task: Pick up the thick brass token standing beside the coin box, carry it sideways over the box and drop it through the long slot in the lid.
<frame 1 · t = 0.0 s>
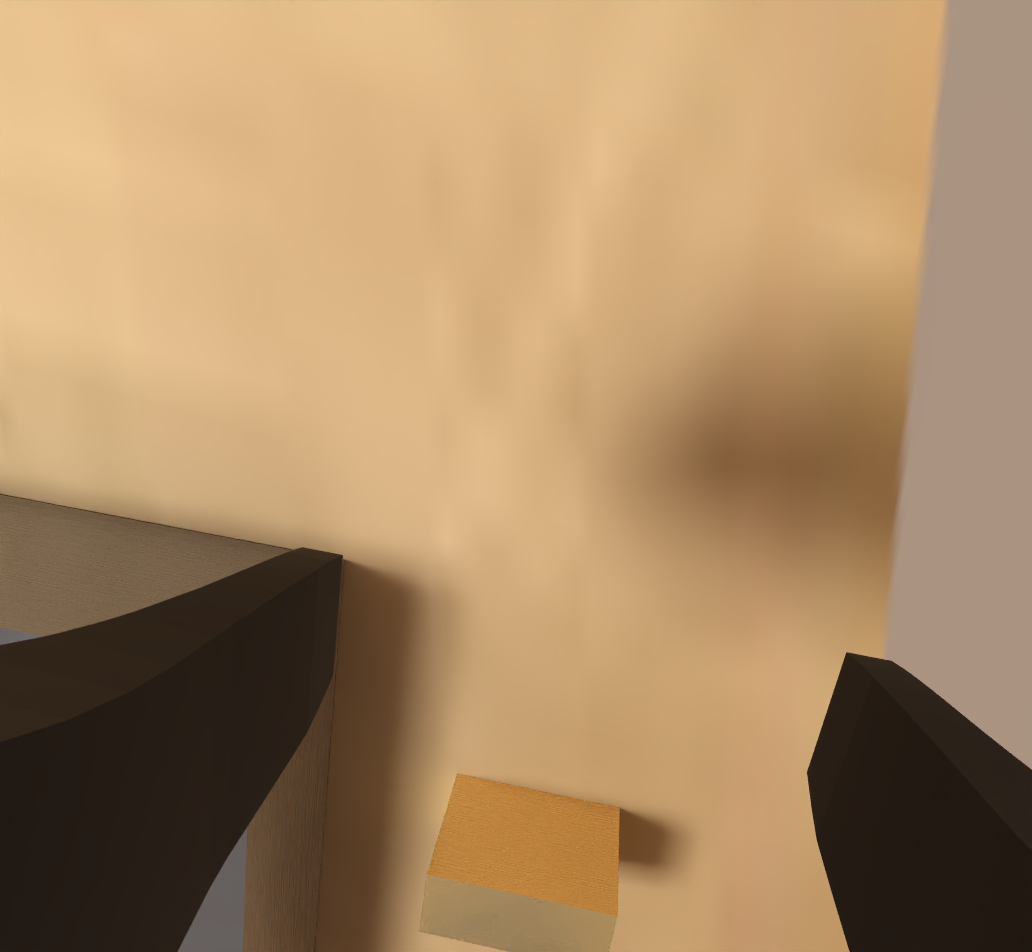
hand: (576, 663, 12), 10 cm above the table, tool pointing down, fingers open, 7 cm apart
token: (533, 815, 25), on the table
coin box: (102, 752, 27), on the table
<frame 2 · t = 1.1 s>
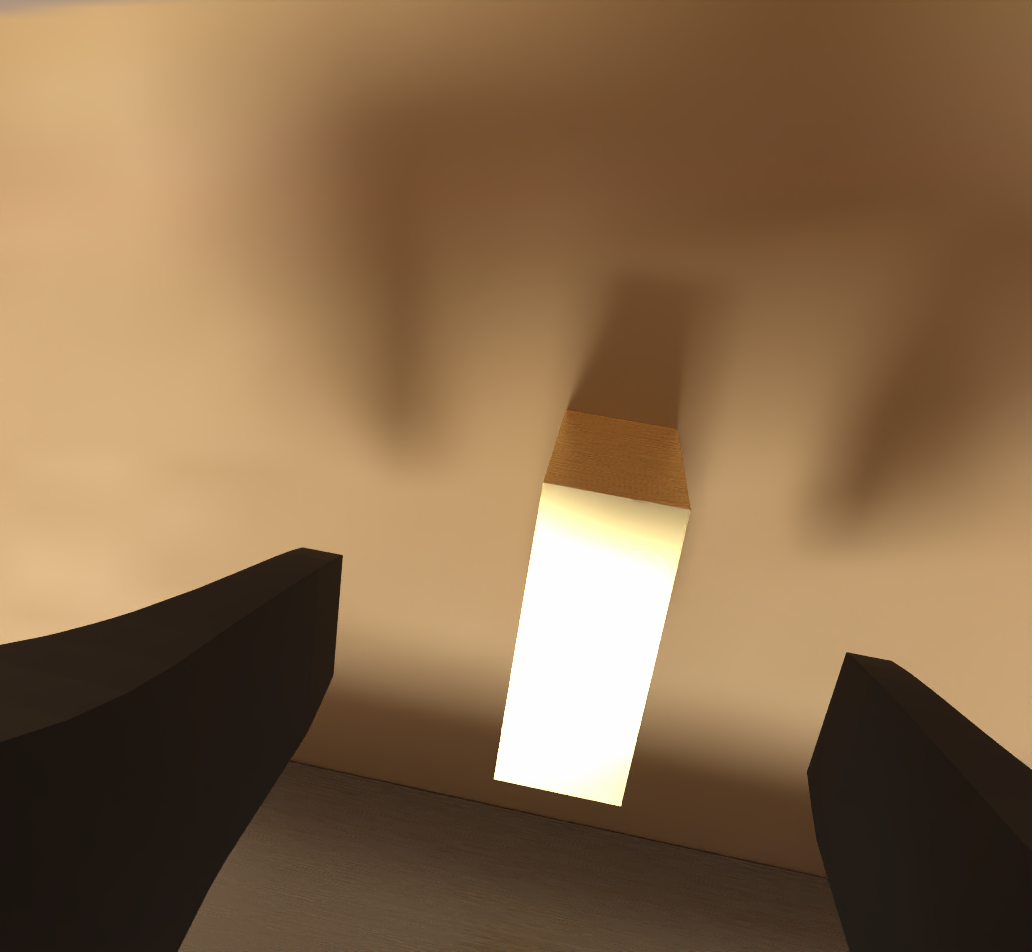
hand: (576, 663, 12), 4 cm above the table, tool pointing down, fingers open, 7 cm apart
token: (597, 543, 16), on the table
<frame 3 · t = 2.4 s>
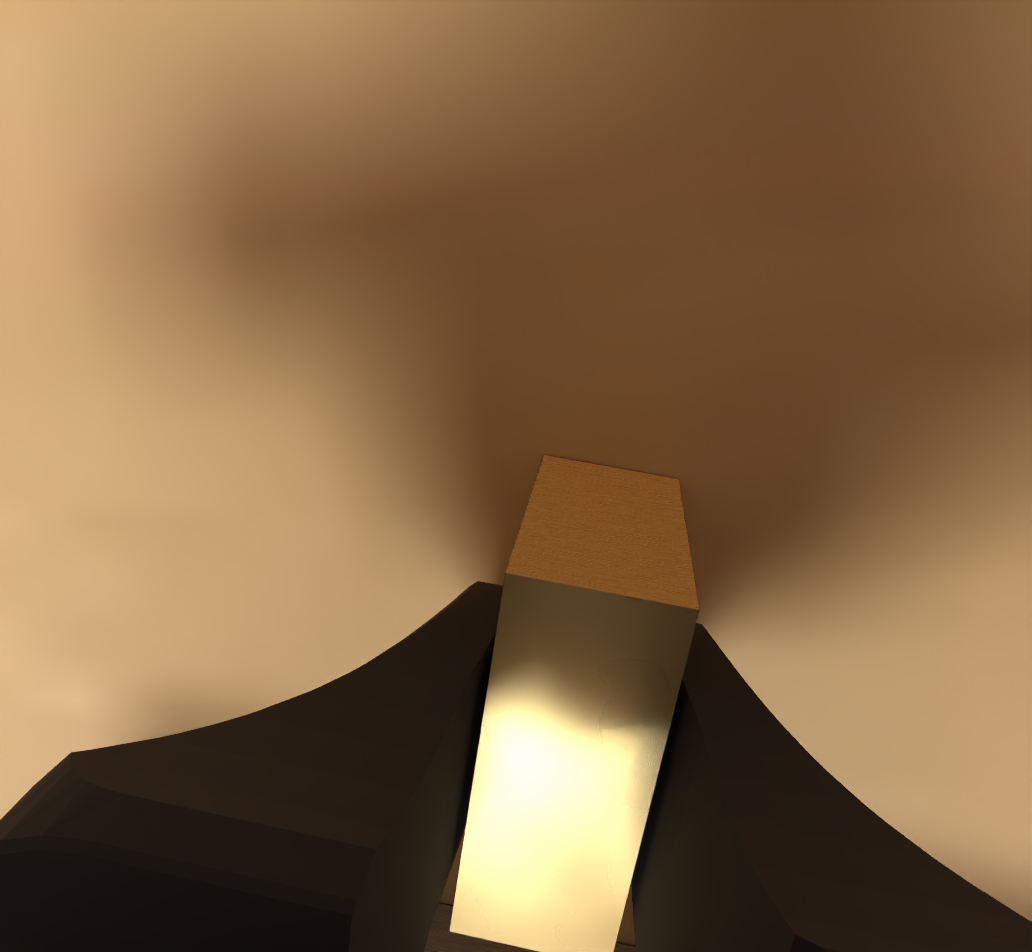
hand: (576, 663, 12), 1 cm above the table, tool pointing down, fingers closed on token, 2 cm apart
token: (581, 614, 13), on the table, touching gripper
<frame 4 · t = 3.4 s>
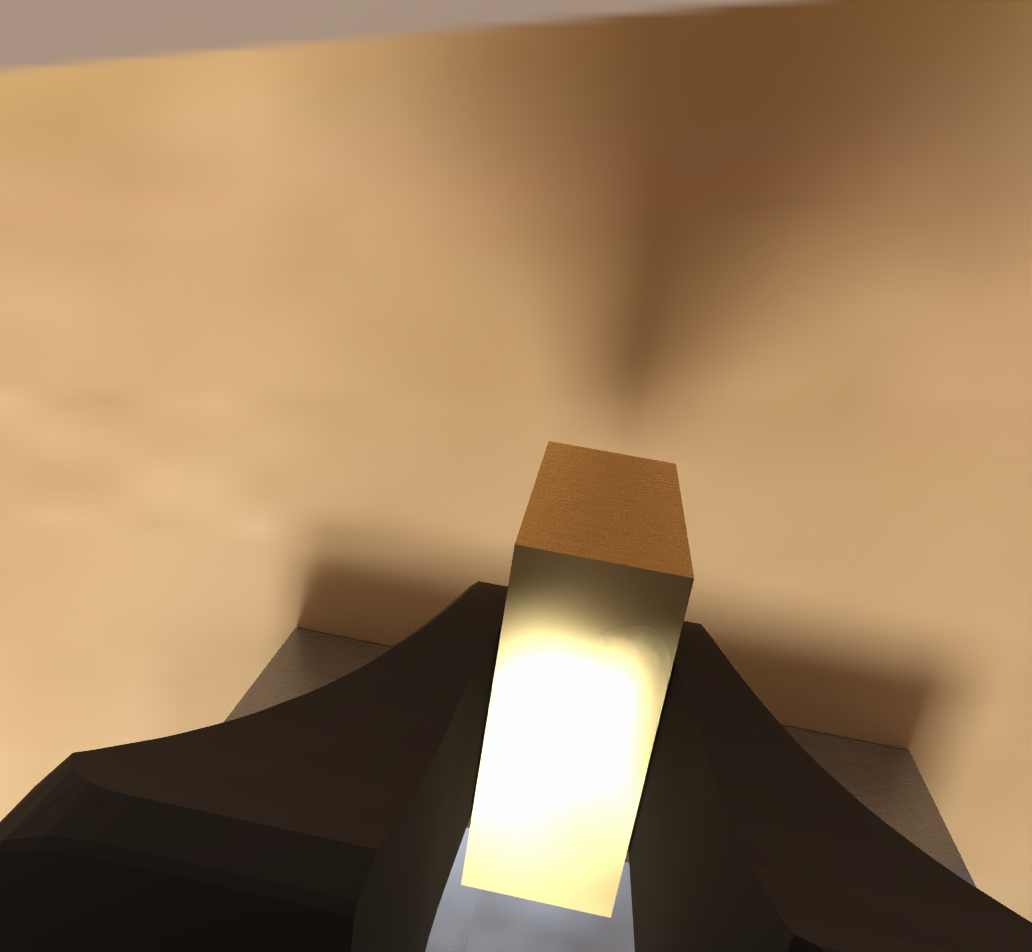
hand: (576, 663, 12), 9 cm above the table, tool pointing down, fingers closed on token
token: (584, 593, 14), point 7 cm above the table, touching gripper
coin box: (550, 893, 25), on the table
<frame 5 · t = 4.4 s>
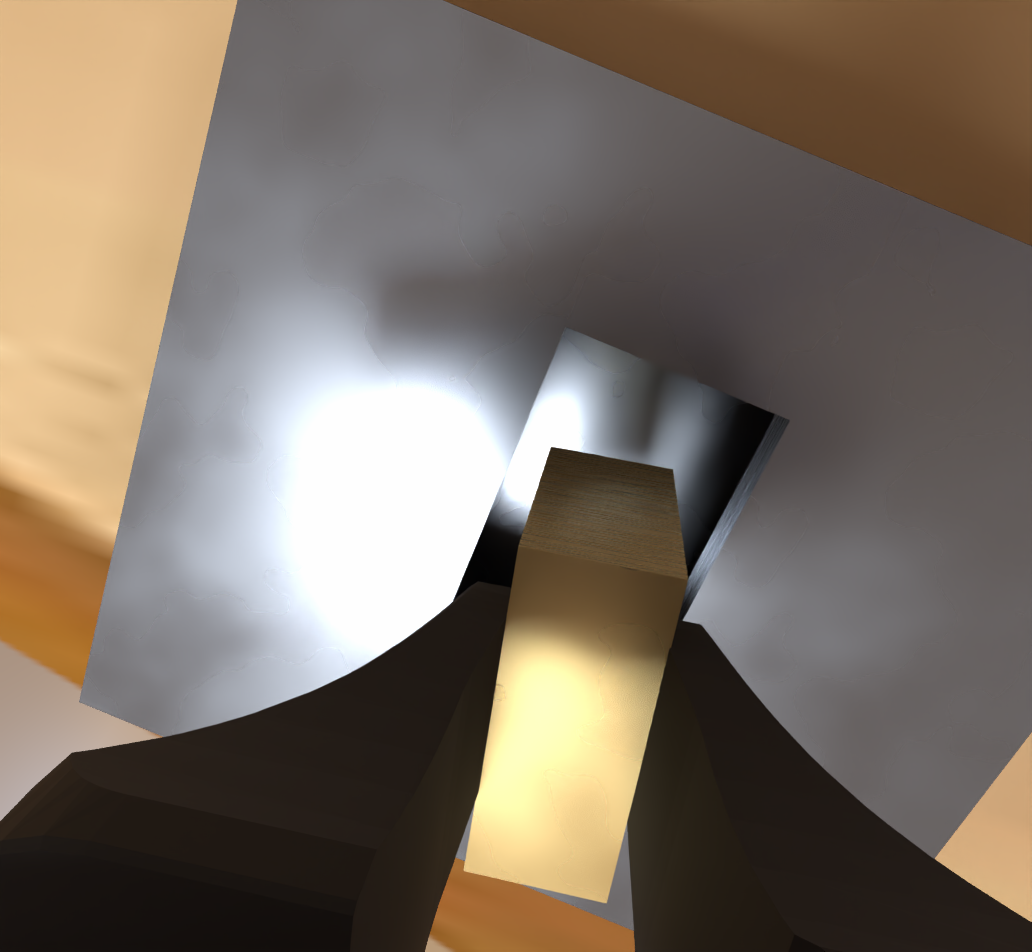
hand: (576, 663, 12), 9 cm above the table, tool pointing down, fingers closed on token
token: (583, 593, 14), point 7 cm above the table, touching gripper
coin box: (600, 459, 20), on the table
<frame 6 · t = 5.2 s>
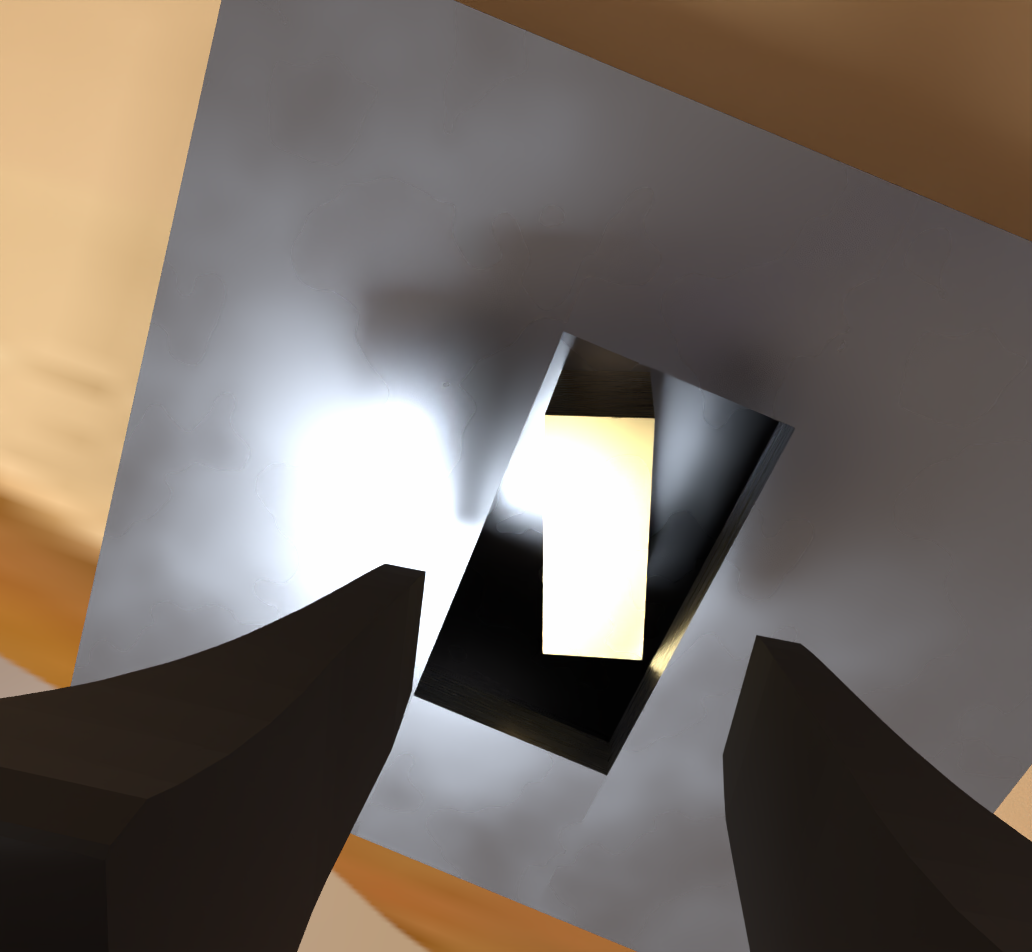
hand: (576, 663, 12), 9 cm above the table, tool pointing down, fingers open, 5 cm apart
token: (602, 475, 20), resting on coin box
coin box: (599, 465, 20), on the table
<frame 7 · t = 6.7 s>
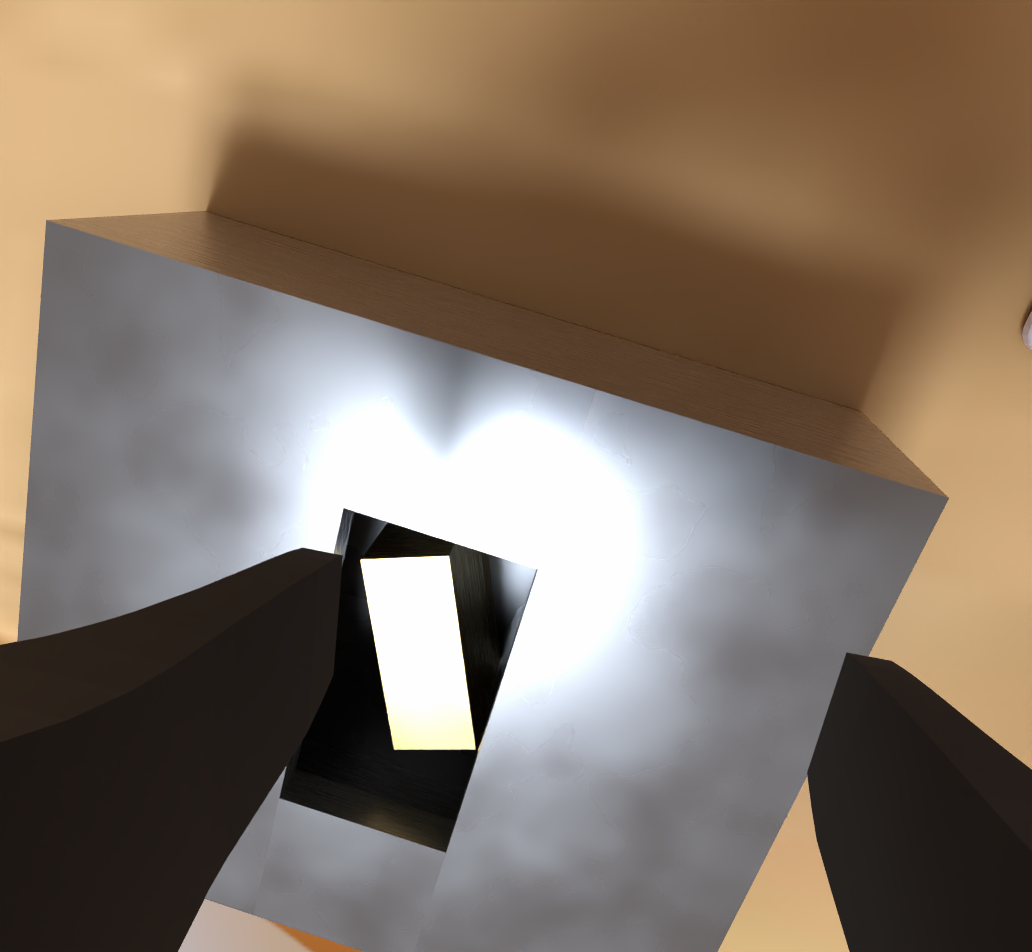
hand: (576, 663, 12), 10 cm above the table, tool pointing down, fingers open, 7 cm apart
token: (455, 579, 23), resting on coin box
coin box: (455, 569, 23), on the table
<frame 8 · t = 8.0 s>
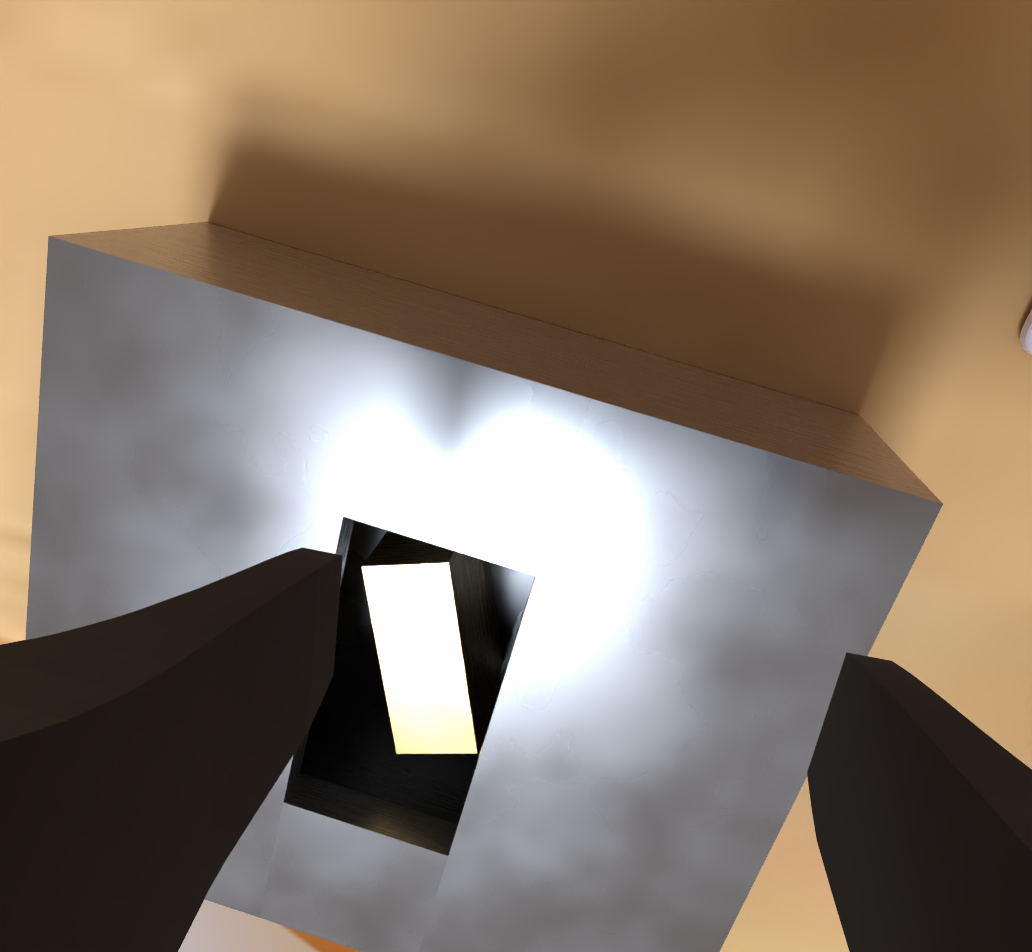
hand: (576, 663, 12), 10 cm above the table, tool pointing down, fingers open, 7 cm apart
token: (457, 584, 23), resting on coin box
coin box: (457, 574, 23), on the table
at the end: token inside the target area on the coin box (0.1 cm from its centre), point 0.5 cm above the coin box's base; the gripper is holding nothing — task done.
